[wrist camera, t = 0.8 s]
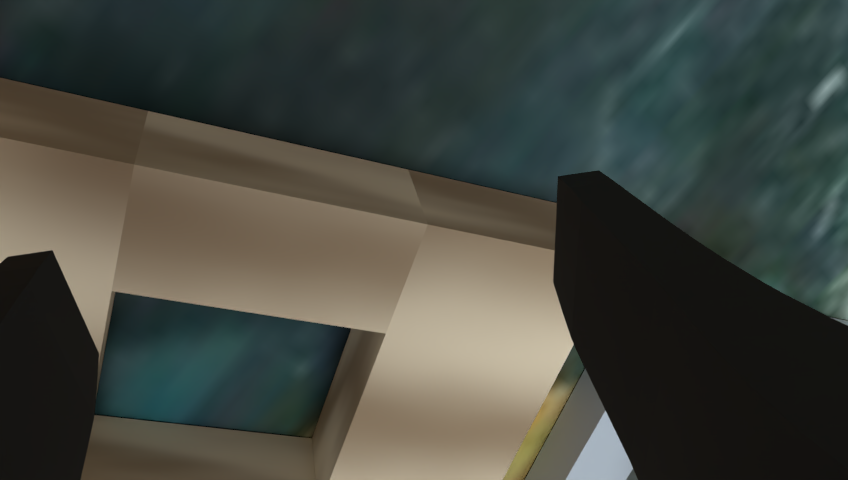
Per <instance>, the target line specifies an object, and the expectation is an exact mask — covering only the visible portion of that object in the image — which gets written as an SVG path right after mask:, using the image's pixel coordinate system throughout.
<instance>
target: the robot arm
mask: <svg viewBox="0 0 848 480" xmlns="http://www.w3.org/2000/svg"><path fill="white" fill-rule="evenodd" d="M553 284H554V287H555V290H556V293H557V296H558V300H559V303H560V306H561V309H562V312H563V315H564V318H565V321H566V324H567V327H568V330H569V333H570V336H571V339H572V341H573V343H574V346H575V348H576V350H577V352H578V354H579V356H580V358H581V361H582V363H583V365H584V367H585V369H586V371H587V373H588V375H589V377H590V379H591V382H592V384H593V386H594V388H595V390H596V392H597V394H598V396H599V398H600V400H601V402H602V404H603V406H604V408H605V411H606V413H607V415H608V417H609V419H610V421H611V423H612V425H613V427H614V429H615V431H616V433H617V435H618V437H619V440H620V442H621V444H622V446H623V448H624V450H625V452H626V454H627V456H628V458H629V460H630V462H631V465H632V467H633V469H634V472H635V474H636V476H637V479H638V480H848V325H845V324H843V323H841V322H839V321H837V320H835V319H832V318H830V317H828V316H826V315H824V314H822V313H820V312H818V311H816V310H815V309H813V308H811V307H809V306H807V305H805V304H803V303H801V302H799V301H797V300H795V299H793V298H791V297H789V296H787V295H785V294H783V293H781V292H780V291H778V290H776V289H774V288H772V287H771V286H769V285H767V284H765V283H763V282H762V281H760V280H758V279H757V278H755V277H753V276H752V275H750V274H748V273H747V272H745V271H744V270H742V269H740V268H739V267H737V266H735V265H734V264H732V263H730V262H729V261H727V260H725V259H724V258H722V257H721V256H719V255H718V254H716V253H715V252H713V251H711V250H710V249H708V248H707V247H705V246H704V245H702V244H701V243H699V242H698V241H696V240H695V239H693V238H692V237H690V236H689V235H688V234H686V233H685V232H683V231H682V230H680V229H679V228H677V227H676V226H675V225H673V224H672V223H670V222H669V221H668V220H666V219H665V218H663V217H662V216H661V215H659V214H658V213H657V212H655V211H654V210H652V209H651V208H650V207H648V206H647V205H646V204H644V203H643V202H641V201H640V200H639V199H637V198H636V197H635V196H633V195H632V194H631V193H629V192H628V191H627V190H625V189H624V188H623V187H621V186H620V185H618V184H617V183H616V182H614V181H613V180H612V179H610V178H609V177H607V176H606V175H604V174H603V173H602V172H600V171H592V172H585V173H578V174H571V175H564V176H558V189H557V210H556V231H555V252H554V273H553ZM98 363H99V352H98V350H97V348H96V346H95V343H94V341H93V339H92V337H91V335H90V332H89V330H88V328H87V326H86V323H85V321H84V319H83V317H82V315H81V312H80V310H79V308H78V306H77V303H76V301H75V299H74V297H73V295H72V292H71V290H70V288H69V286H68V283H67V281H66V279H65V277H64V275H63V272H62V270H61V268H60V266H59V263H58V261H57V259H56V257H55V255H54V252H53V250H50V251H43V252H36V253H30V254H23V255H16V256H9V257H7V258H6V259H4V260H3V261H2V262H1V263H0V480H81V475H82V471H83V467H84V462H85V458H86V453H87V449H88V444H89V440H90V435H91V430H92V425H93V421H94V414H95V403H96V393H97V379H98Z"/></svg>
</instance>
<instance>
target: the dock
mask: <svg viewBox="0 0 848 480" xmlns="http://www.w3.org/2000/svg"><path fill="white" fill-rule="evenodd" d="M556 210H557V203H554V202H550V201H545V200H541V199H537V198H532V197H528V196H523V195H519V194H514V193H510V192H505V191H501V190H497V189H492V188H488V187H483V186H479V185H474V184H470V183H466V182H461V181H457V180H452V179H448V178H443V177H439V176H434V175H430V174H426V173H421V172H417V171H412V170H408V169H403V168H399V167H395V166H390V165H386V164H381V163H377V162H372V161H368V160H363V159H359V158H355V157H350V156H346V155H341V154H337V153H332V152H328V151H324V150H319V149H315V148H310V147H306V146H301V145H297V144H293V143H288V142H284V141H279V140H275V139H270V138H266V137H261V136H257V135H253V134H248V133H244V132H239V131H235V130H230V129H226V128H222V127H217V126H213V125H208V124H204V123H199V122H195V121H190V120H186V119H182V118H177V117H173V116H168V115H164V114H159V113H155V112H151V111H146V110H142V109H137V108H133V107H128V106H124V105H119V104H115V103H111V102H106V101H102V100H97V99H93V98H88V97H84V96H80V95H75V94H71V93H66V92H62V91H57V90H53V89H48V88H44V87H40V86H35V85H31V84H26V83H22V82H17V81H13V80H9V79H4V78H0V263H1V262H2V261H3V260H4V259H6V258H7V257H9V256H16V255H23V254H30V253H36V252H43V251H50V250H53V252H54V255H55V257H56V259H57V261H58V263H59V266H60V268H61V270H62V272H63V275H64V277H65V279H66V281H67V283H68V286H69V288H70V290H71V292H72V295H73V297H74V299H75V301H76V303H77V306H78V308H79V310H80V312H81V315H82V317H83V319H84V321H85V323H86V326H87V328H88V330H89V332H90V335H91V337H92V339H93V341H94V343H95V346H96V348H97V350H98V352H99V363H98V379H97V391H98V385H99V380H100V374H101V369H102V363H103V358H104V352H105V347H106V341H107V336H108V330H109V325H110V319H111V314H112V308H113V303H114V297H115V292H121V293H127V294H133V295H140V296H146V297H153V298H159V299H166V300H172V301H179V302H185V303H192V304H198V305H204V306H211V307H217V308H224V309H230V310H237V311H243V312H250V313H256V314H263V315H269V316H275V317H282V318H288V319H295V320H301V321H308V322H314V323H321V324H327V325H333V326H340V327H346V328H351V331H350V333H349V336H348V339H347V342H346V345H345V347H344V350H343V353H342V356H341V359H340V361H339V364H338V367H337V370H336V373H335V375H334V378H333V381H332V384H331V387H330V389H329V392H328V395H327V398H326V400H325V403H324V406H323V409H322V412H321V414H320V417H319V420H318V423H317V426H316V428H315V431H314V434H313V437H312V438H303V437H294V436H284V435H275V434H266V433H256V432H247V431H238V430H229V429H219V428H210V427H201V426H192V425H182V424H173V423H164V422H155V421H145V420H136V419H127V418H118V417H108V416H99V415H94V421H93V425H92V430H91V435H90V440H89V444H88V449H87V453H86V458H85V462H84V467H83V471H82V475H81V480H503V478H504V476H505V474H506V472H507V470H508V469H509V467H510V465H511V463H512V461H513V459H514V457H515V455H516V453H517V451H518V449H519V448H520V446H521V444H522V442H523V440H524V438H525V436H526V434H527V432H528V430H529V429H530V427H531V425H532V423H533V421H534V419H535V417H536V415H537V413H538V411H539V410H540V408H541V406H542V404H543V402H544V400H545V398H546V396H547V394H548V392H549V391H550V389H551V387H552V385H553V383H554V381H555V379H556V377H557V375H558V373H559V372H560V370H561V368H562V366H563V364H564V362H565V360H566V358H567V356H568V354H569V353H570V351H571V349H572V347H573V345H574V343H573V341H572V339H571V336H570V333H569V330H568V327H567V324H566V321H565V318H564V315H563V312H562V309H561V306H560V303H559V300H558V296H557V293H556V290H555V287H554V284H553V273H554V252H555V231H556ZM96 396H97V393H96Z"/></svg>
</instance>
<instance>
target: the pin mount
mask: <svg viewBox="0 0 848 480" xmlns="http://www.w3.org/2000/svg"><path fill="white" fill-rule="evenodd" d="M830 318H831V317H830ZM832 319H835V320H837V321H839V322H841V323H843V324H845V325H848V321H846V320H841V319H836V318H832ZM525 480H638V479H637V476H636V474H635V472H634V469H633V467H632V465H631V462H630V460H629V458H628V456H627V454H626V452H625V450H624V448H623V446H622V444H621V442H620V440H619V437H618V435H617V433H616V431H615V429H614V427H613V425H612V423H611V421H610V419H609V417H608V415H607V413H606V411H605V408H604V406H603V404H602V402H601V400H600V398H599V396H598V394H597V392H596V390H595V388H594V386H593V384H592V382H591V379H590V377H589V375H588V373H587V371H586V369H585V370H584V372H583V373H582V375H581V377H580V379H579V381H578V383H577V385H576V386H575V388H574V390H573V392H572V394H571V396H570V397H569V399H568V401H567V403H566V405H565V407H564V408H563V410H562V412H561V414H560V416H559V418H558V419H557V421H556V423H555V425H554V427H553V429H552V430H551V432H550V434H549V436H548V438H547V440H546V441H545V443H544V445H543V447H542V449H541V451H540V452H539V454H538V456H537V458H536V460H535V462H534V464H533V465H532V467H531V469H530V471H529V473H528V475H527V476H526V478H525Z"/></svg>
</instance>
